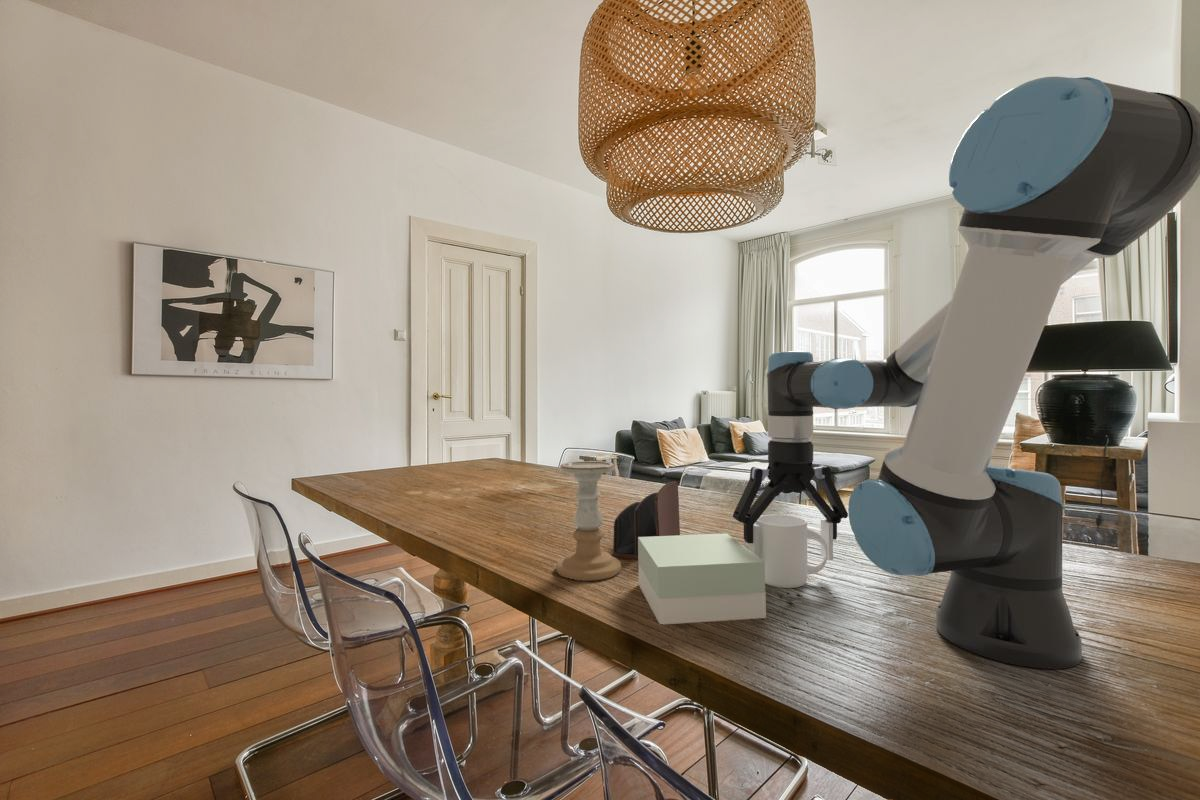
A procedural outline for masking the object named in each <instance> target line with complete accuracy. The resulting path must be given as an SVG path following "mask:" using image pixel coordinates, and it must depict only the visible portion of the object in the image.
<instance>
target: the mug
mask: <svg viewBox="0 0 1200 800" xmlns="http://www.w3.org/2000/svg"><path fill="white" fill-rule="evenodd" d="M755 524H756V525H758V526H759V558H760V559H762V560H763V561H764V562H765V585H768V586H771V587H774V588H775V587H776V588H782V589H794V588H799V587H803V586H804V585H806V583H807V581H808V576H809V575H815V574H817V573H819V572H820V571H822V570H823V569H824V568H825V566H826V564H827V561H828V559H827V557H828V548H827V545H826V542H825V541H824V539H823V538H822V537H821V534H819V533H818V532H817V531H815V530H814V529H811V528H809V527H808V521H807V520H806V519H804V518H802V517H797V516H793V515H789V514H788V515H786V514H766V515H765V514H762V515H761V516H760V517H759V518H758V520H757V521H756V522H755ZM808 540H813V541H817V542H818V543H819V544H820V545H821V544H822V546H823V547H824V549H825V557H823V560H822V562H820V563H819V564H811V563H809V562H808Z"/></svg>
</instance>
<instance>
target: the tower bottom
mask: <svg viewBox="0 0 1200 800" xmlns="http://www.w3.org/2000/svg"><path fill="white" fill-rule="evenodd" d="M637 563H638V562H637ZM637 565H638V586H639V587H640V590H641V592H642V594H643V595H644V598H645V599H646V601H647V603H648V605H649V607H650V609H651V611H652V613H653V615H654V616H655V618H656V621H657V622H658V624H659V623H660V624H663V625H674V624H675V625H676V624H692V623H707V622H722V621H723V622H725V621H738V620H740V621H741V620H752V619H754V620H756V619H766V618H767V608H766V607H767V599H766V597H767V594H766V590H765V592H763V593H745V594H726V595H708V596H690V597H672V598H658V597H657V595H656V593H655V592H654V590H653V588H652V586H651V584H650V583H649V581H648V579H647V577H646V576H645V574H644V572H643V570H642V568H641V567H640V565H639V563H638V564H637ZM660 624H659V625H660Z"/></svg>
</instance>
